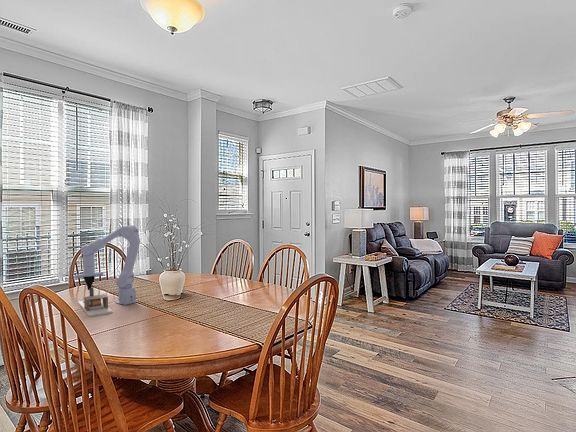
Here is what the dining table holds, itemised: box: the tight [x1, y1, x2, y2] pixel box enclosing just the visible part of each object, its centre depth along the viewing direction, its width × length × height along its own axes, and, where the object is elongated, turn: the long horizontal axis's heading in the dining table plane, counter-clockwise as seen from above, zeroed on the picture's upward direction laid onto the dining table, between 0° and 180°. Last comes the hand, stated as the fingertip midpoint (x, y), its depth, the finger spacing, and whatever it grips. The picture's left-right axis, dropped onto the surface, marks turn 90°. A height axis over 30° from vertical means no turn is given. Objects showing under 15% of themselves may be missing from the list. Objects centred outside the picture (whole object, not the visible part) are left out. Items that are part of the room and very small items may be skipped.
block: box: [91, 299, 102, 307], centre depth 193 cm, size 4×4×4 cm
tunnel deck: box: [77, 293, 113, 318], centre depth 197 cm, size 32×11×7 cm, turn 39°
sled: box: [88, 287, 104, 310], centre depth 197 cm, size 16×6×8 cm, turn 39°
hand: (89, 289), depth 207 cm, fingers closed
